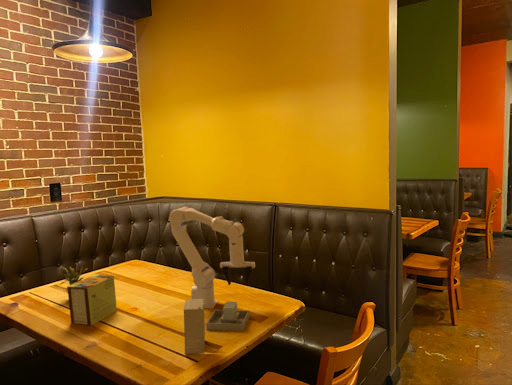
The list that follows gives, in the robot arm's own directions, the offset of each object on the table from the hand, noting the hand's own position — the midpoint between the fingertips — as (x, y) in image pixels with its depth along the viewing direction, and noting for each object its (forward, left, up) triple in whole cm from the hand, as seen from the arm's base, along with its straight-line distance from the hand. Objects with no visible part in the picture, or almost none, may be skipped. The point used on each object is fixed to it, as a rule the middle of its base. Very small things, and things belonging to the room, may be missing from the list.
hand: (238, 284), depth 156 cm
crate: (-1, -15, -10) cm, 18 cm away
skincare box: (-8, -33, -11) cm, 36 cm away
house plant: (-81, +5, -11) cm, 82 cm away
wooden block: (0, -16, -10) cm, 19 cm away
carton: (0, -16, -6) cm, 17 cm away
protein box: (-59, -12, -11) cm, 61 cm away
